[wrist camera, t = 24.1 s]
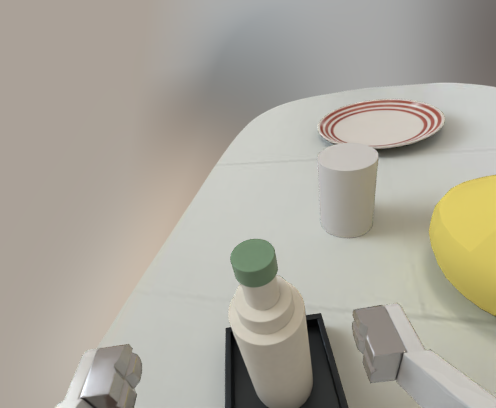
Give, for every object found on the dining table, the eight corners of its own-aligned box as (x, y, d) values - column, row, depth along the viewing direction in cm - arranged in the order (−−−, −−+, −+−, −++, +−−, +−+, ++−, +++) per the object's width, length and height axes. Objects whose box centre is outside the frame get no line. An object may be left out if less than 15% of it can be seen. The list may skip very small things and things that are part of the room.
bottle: (256, 416, 28) (205, 299, 17) (251, 353, 33) (210, 232, 22) (319, 407, 27) (307, 282, 17) (305, 344, 32) (289, 218, 22)
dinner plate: (343, 170, 61) (343, 156, 59) (304, 124, 83) (304, 113, 81) (473, 140, 61) (477, 125, 59) (399, 103, 83) (401, 90, 81)
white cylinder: (383, 218, 47) (390, 150, 41) (352, 245, 44) (354, 177, 37) (340, 200, 53) (340, 138, 46) (310, 223, 50) (305, 160, 43)
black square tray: (231, 456, 27) (224, 447, 25) (230, 340, 36) (225, 327, 34) (354, 441, 26) (355, 430, 24) (321, 326, 35) (320, 312, 33)
